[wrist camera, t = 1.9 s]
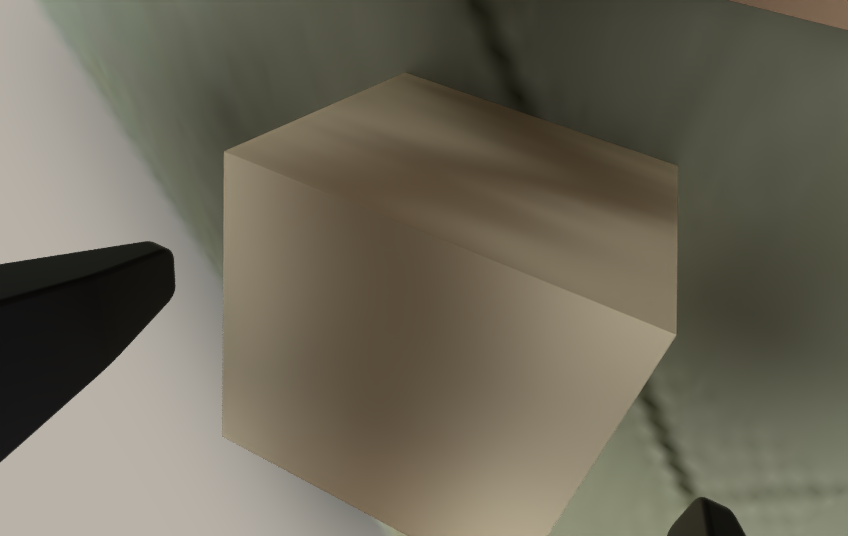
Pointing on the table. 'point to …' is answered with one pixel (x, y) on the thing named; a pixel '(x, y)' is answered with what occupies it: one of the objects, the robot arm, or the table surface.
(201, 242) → the table surface
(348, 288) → the maple cube
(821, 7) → the walnut block
